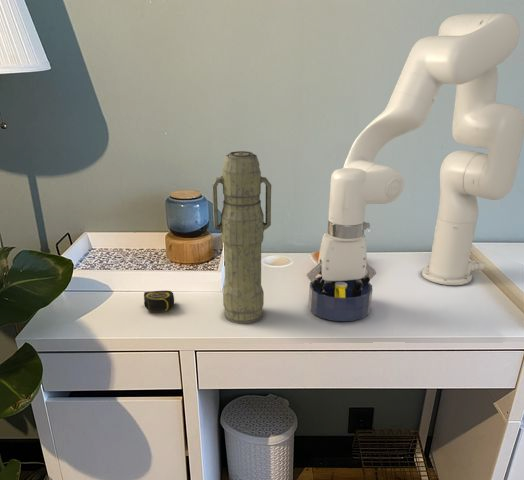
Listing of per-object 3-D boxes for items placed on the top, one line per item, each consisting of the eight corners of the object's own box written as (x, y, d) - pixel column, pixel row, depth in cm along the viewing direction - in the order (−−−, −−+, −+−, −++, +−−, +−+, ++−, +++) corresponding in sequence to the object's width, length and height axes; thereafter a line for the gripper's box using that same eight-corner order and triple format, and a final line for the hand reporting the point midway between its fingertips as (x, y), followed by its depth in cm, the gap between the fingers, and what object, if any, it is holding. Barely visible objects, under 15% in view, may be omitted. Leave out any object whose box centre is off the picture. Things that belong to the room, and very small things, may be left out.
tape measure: (174, 302, 132) (173, 287, 130) (175, 314, 126) (174, 299, 124) (144, 304, 131) (143, 289, 129) (144, 316, 125) (143, 301, 123)
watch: (331, 302, 130) (332, 278, 128) (342, 302, 131) (344, 278, 128) (335, 313, 125) (337, 289, 122) (347, 313, 125) (349, 288, 122)
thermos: (274, 321, 123) (276, 156, 106) (221, 326, 121) (215, 158, 104) (265, 304, 131) (266, 148, 113) (215, 309, 128) (208, 150, 111)
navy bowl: (358, 295, 135) (360, 272, 132) (378, 321, 123) (381, 296, 120) (302, 299, 133) (303, 276, 130) (317, 325, 121) (319, 300, 118)
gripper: (377, 222, 123) (369, 296, 132) (301, 226, 121) (298, 301, 130) (390, 232, 117) (381, 309, 126) (310, 236, 114) (306, 315, 123)
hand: (339, 304), depth 128 cm, fingers open, 6 cm apart
